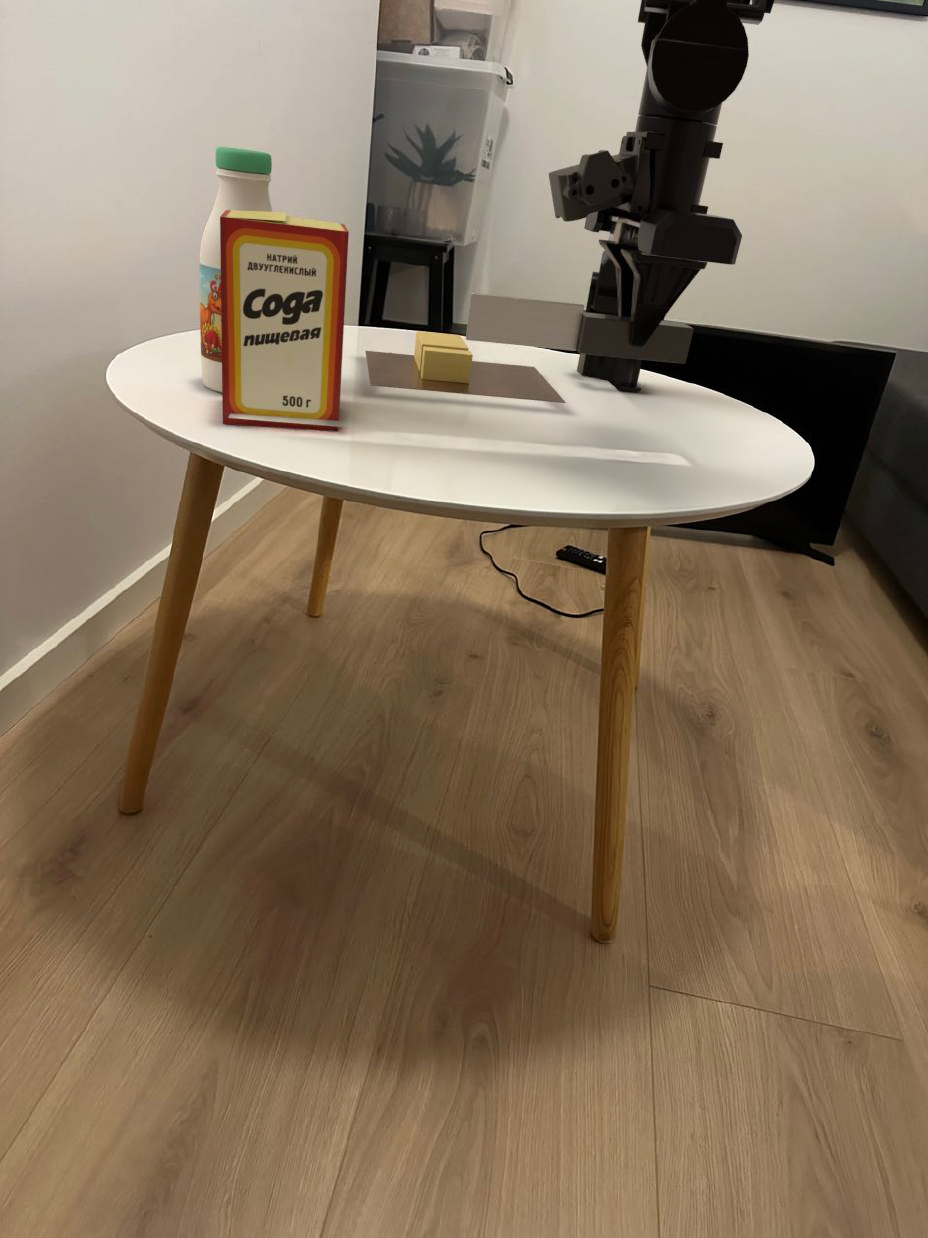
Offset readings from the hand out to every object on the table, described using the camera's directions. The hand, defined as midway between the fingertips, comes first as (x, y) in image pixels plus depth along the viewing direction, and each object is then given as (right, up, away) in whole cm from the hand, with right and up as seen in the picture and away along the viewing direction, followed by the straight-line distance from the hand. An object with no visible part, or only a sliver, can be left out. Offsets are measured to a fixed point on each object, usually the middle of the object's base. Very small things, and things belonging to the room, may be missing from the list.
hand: (631, 342), depth 69 cm
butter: (-16, +6, +26) cm, 31 cm away
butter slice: (-16, +3, +21) cm, 26 cm away
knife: (-5, -1, 0) cm, 5 cm away
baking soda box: (-29, -5, +5) cm, 30 cm away
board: (-14, +3, +24) cm, 28 cm away
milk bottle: (-35, 0, +12) cm, 37 cm away
